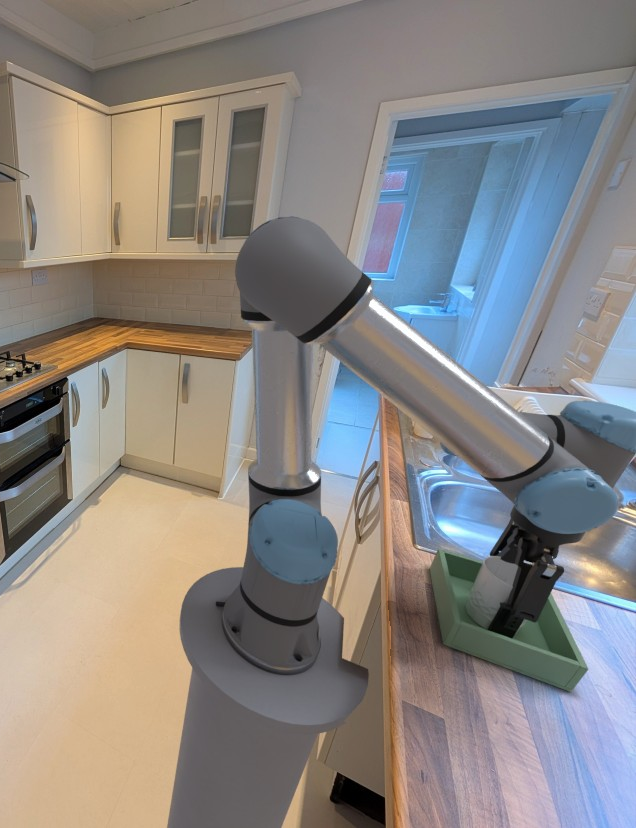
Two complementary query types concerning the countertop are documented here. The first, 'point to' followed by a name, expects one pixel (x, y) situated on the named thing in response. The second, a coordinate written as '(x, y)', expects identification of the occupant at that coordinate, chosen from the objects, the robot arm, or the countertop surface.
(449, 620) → the tray
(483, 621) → the white cup
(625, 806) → the countertop surface
